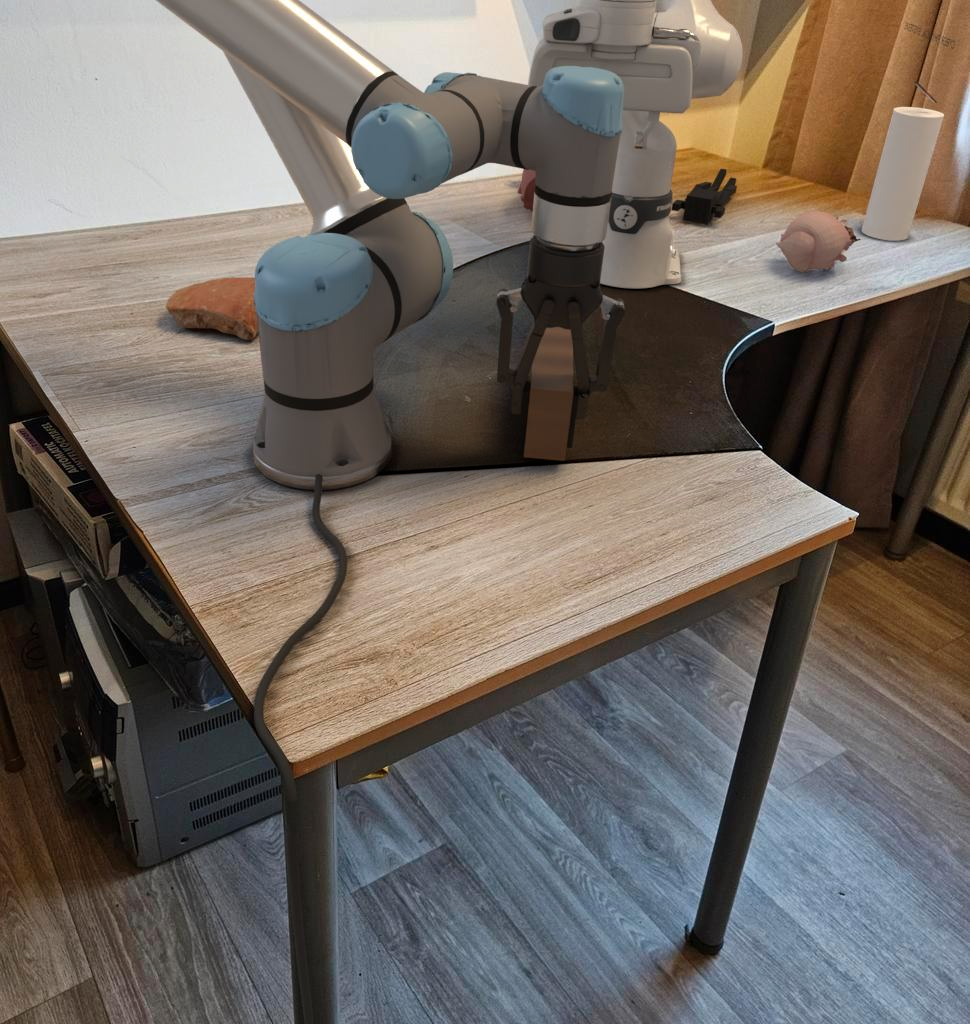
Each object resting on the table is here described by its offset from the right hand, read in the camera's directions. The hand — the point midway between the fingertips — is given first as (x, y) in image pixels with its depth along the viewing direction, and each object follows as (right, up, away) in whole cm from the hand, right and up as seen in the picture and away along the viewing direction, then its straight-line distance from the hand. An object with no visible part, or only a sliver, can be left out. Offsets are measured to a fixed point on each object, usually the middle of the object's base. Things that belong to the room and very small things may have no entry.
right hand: (602, 145), depth 122 cm
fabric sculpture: (+3, +15, +69) cm, 71 cm away
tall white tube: (+61, +7, +62) cm, 88 cm away
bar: (-8, -34, -6) cm, 36 cm away
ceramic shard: (-52, -19, +16) cm, 58 cm away
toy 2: (+41, -4, +44) cm, 61 cm away
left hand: (-8, -38, -13) cm, 41 cm away
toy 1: (+31, +16, +73) cm, 81 cm away
